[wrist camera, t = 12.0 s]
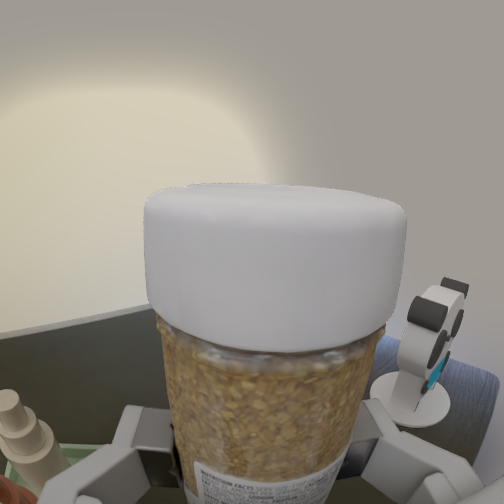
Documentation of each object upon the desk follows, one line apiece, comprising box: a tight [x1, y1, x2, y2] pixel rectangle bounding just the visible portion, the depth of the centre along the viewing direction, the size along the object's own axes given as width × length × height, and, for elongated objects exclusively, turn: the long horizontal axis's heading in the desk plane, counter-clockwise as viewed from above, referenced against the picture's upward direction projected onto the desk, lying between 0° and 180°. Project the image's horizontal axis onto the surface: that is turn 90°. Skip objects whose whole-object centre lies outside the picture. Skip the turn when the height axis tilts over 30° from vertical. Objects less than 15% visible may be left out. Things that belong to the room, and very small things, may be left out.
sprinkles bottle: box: [144, 183, 407, 504], centre depth 7 cm, size 5×5×14 cm
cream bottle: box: [0, 389, 71, 499], centre depth 14 cm, size 5×5×11 cm
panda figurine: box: [370, 277, 469, 428], centre depth 30 cm, size 12×11×15 cm
